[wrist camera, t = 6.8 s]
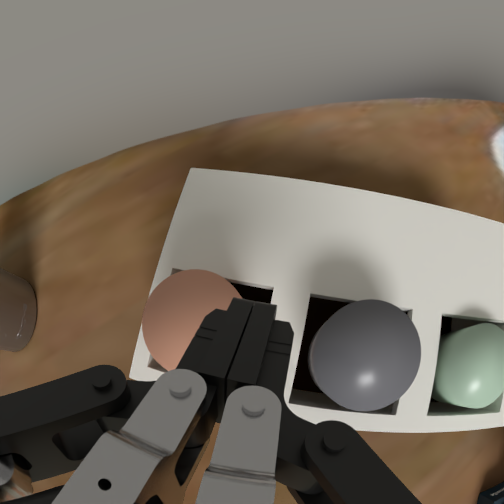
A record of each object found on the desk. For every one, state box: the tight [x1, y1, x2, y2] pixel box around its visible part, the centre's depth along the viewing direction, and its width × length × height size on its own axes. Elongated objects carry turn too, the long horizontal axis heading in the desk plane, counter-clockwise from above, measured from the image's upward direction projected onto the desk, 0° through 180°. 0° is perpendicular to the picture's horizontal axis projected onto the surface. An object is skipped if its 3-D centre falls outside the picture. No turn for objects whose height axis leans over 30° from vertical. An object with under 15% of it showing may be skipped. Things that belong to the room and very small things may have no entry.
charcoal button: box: [308, 299, 421, 411], centre depth 14 cm, size 5×5×4 cm
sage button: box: [431, 323, 504, 409], centre depth 14 cm, size 5×5×4 cm
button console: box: [129, 168, 504, 433], centre depth 20 cm, size 24×14×9 cm, turn 78°
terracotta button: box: [142, 269, 242, 371], centre depth 15 cm, size 5×5×4 cm
